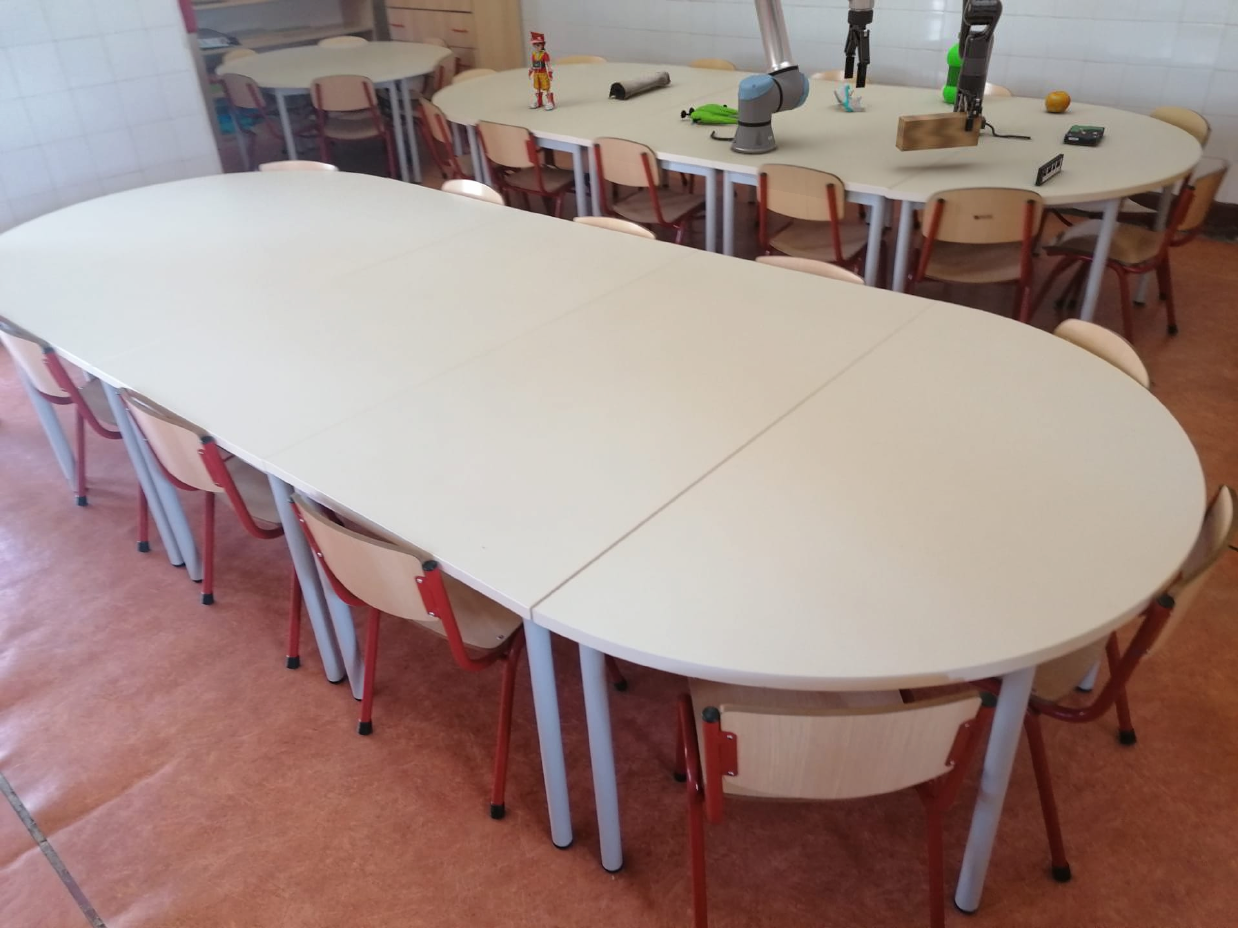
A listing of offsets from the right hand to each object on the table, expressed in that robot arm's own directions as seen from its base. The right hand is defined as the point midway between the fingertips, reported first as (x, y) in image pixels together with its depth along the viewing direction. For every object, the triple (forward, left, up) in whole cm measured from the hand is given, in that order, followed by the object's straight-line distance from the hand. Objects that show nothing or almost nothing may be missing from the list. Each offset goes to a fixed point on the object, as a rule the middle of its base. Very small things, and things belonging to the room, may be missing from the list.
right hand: (964, 128), depth 283 cm
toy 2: (+83, -56, -12) cm, 100 cm away
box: (+8, +2, -5) cm, 10 cm away
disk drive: (-43, -30, -12) cm, 54 cm away
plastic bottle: (-7, -83, -12) cm, 84 cm away
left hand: (+35, -4, +13) cm, 38 cm away
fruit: (-41, -68, -12) cm, 80 cm away
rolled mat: (+124, -104, -12) cm, 162 cm away
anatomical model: (+35, -75, -12) cm, 83 cm away
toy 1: (+162, -78, -12) cm, 180 cm away
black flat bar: (-25, +13, -12) cm, 30 cm away
